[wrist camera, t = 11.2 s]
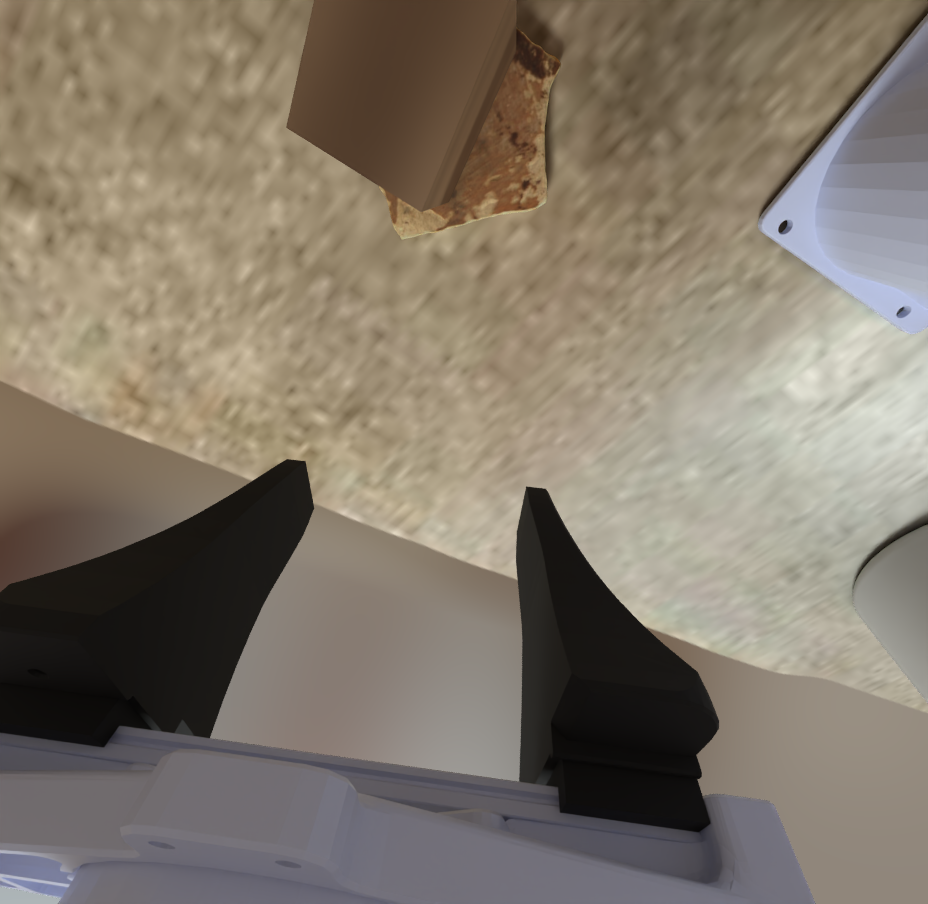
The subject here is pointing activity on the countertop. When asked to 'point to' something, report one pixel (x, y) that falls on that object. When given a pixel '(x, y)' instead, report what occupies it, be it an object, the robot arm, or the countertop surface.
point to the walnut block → (402, 87)
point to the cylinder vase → (899, 603)
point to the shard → (497, 153)
